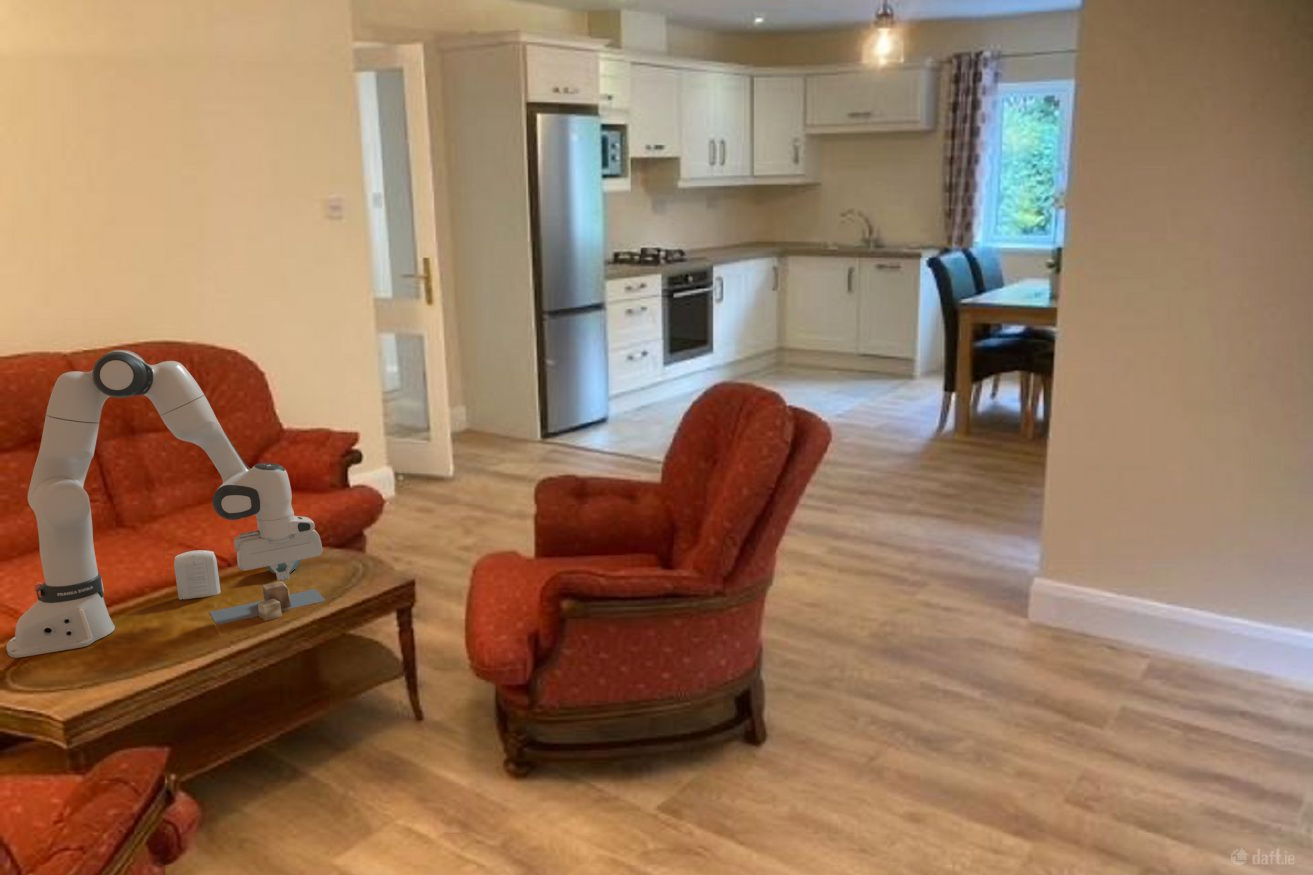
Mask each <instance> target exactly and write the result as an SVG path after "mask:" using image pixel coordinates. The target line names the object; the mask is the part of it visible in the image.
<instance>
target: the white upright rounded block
mask: <svg viewBox="0 0 1313 875" xmlns="http://www.w3.org/2000/svg"><path fill="white" fill-rule="evenodd" d="M173 566H174V574H175V581H176V588H177V590H176V591H177V595H178V596H177V597H178V600H181V601H182V599H183V600H189V599H198V598H205V597H211V596H212V597H213V596H217V595H219V594H221V586H220V585H221V584H220V577H219V569H218V562H217V557H216V555H215V552H214V551H212V550H201V549H200V550H199V549H198V550H191V551H186V552H181V553H180V554H177V555H176V556H175V557H174V562H173Z"/></svg>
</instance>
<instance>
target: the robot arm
mask: <svg viewBox="0 0 1313 875" xmlns="http://www.w3.org/2000/svg"><path fill="white" fill-rule="evenodd" d="M143 395H144V396H145V397H147V398H148V399H149V401H150V402H152V404H153V405H154V408H155V409H156V411H157V412H158V415H159V416H160V418H161V420H162V422H163V423H164V425H165V426H166V427H167V429H168V430H169V431H170V432H171V434H172V435H173V436H174V437H175V438H176V439H178V440H180V441H184V442H187V443H192V444H195V445H196V446H198V447H199V448H201V449H202V450H203V451H204V452H205V453H206V454H207V457H209V459H210V460H211V462H212V463H213V465H214V466H215V468H216V469H217V472H218V473H219V474H220V476H221V480H222V484H221V485H220V486H219V487H217V489H216V490H215V492H214V493H213V495H212V496H213V497H212V499H211V500H212V501H211V502H212V507H213V509H214V511H215V513H216V514H217V515H218V516H220V517H221V518H222V519H224V520H229V521H236V520H241V519H244V518H248V517H251V516H255V517H256V523H257V530H253V531H249V532H242V533H239V535H237V536H236V537H235V538H234V539H233V540H234V541H233V546H234V550H235V551H236V560H237V561H236V562H237V566H238V568H239V569H240V570H241V571H243V572H245V571H251V570H255V569H260V568H264V567H265V568H267V566H271V568H272V570H273V571H274V572H275V573H276V574H275V575H276V581H277V582H279V581H285V580H290V579H291V573H289V572H290V571H291V569H292V567H293V561H296V560H300V561H301V560H305V559H310V558H316V557H320V556H321V555H322V553H323V546H322V540H321V537H320V535H319V533H318V532H317V530H316V529H315V528H316V525H315V522H314V521H313V520H312V519H311V518H310V517H307V516H301V515H295V512H294V508H293V507H292V498H293V496H292V487H291V482H290V478H289V475H288V471H287V470H286V468H285V467H284V466H283V465H280V464H278V463H274V462H273V463H271V462H263V463H261V462H260V463H256V464H254V466H252V468H250V467H249V466H248V465H247V463H245V461H244V460H243V458H242V457H241V455H240V454H239V452H238V450H237V449H236V447H235V445H234V444H233V443H232V441H231V440H230V439H229V436H228V435H227V433H226V432H225V431H224V429H223V427H222V425H221V424H220V422H219V420H218V418H217V417H216V414H215V412H214V410H213V409H212V407H211V405H210V402H209V400H208V399H207V397H206V395H205V393H204V391H203V390H202V389H201V387H200V385H199V384H198V382H197V381H196V380H195V378H194V377H193V375H191V373H190V372H189V370H187V368H186V367H185V366H184V365H183V364H182V363H181V362H178V361H177V360H176V361H175V360H167V361H166V360H165V361H161V362H159V363H157V364H148V363H147V362H146V360H145V359H144V358H143V357H142V356H141V355H140V354H138V353H136V352H134V351H131V350H127V349H114V350H110V351H109V352H106V353H104V354H103V355H102V356H100V357H99V358H98V359H97V360H96V362H95V363H94V365H93V367H92V370H90V371H79V370H77V371H75V370H74V371H68V372H64V373H62V374H61V375H59V377H58V378H57V380H56V381H55V383H54V386H53V388H52V391H51V394H50V397H49V400H48V404H47V408H46V413H45V417H44V418H45V420H44V425H43V429H42V430H43V431H42V435H41V441H40V447H39V450H38V454H37V457H36V461H35V463H34V467H33V470H32V471H33V472H32V475H31V477H30V478H31V479H30V483H29V487H28V491H27V502H28V505H29V506H30V508H31V509H32V511H33V512H34V515H35V519H36V524H37V532H38V543H39V556H40V560H41V562H40V563H41V566H42V572H43V577H44V578H43V579H44V583H42V582H39V581H38V582H36V583H34V585H33V586H34V587H33V588H34V592H36V598H37V601H36V602H35V603H34V604H33V605H32V606H31V607H29V609H28V610H26V612H24V613H22V615H21V616H20V617H19V618H18V619H17V623H16V625H15V633H14V635H15V636H14V637H12V638H11V639H9V641H7V643H6V653H7V655H8V656H9V657H11V658H15V659H18V658H24V657H31V656H37V655H42V654H49V653H54V652H61V651H67V650H74V649H79V648H84V647H87V646H90V645H91V644H93V643H94V642H95V641H98V640H100V639H102V638H104V637H107V636H109V635H110V634H111V633H113V632H114V630H116V626H115V624H114V623H113V620H112V618H111V617H110V614H109V611H108V608H107V605H106V602H105V598H104V597H105V596H104V595H105V594H104V593H105V590H104V584H103V579H102V577H101V573H100V572H99V571H98V570H99V569H98V566H97V565H98V564H97V558H96V553H95V546H94V537H93V536H94V534H93V532H94V531H93V520H92V519H93V518H92V508H91V501H90V497H89V494H88V492H87V491H86V490H85V488H84V486H85V481H86V478H87V474H88V471H89V467H90V466H91V461H92V460H93V458H94V455H95V450H96V446H97V445H96V444H97V440H98V434H99V428H100V422H101V415H102V410H103V407H104V405H105V402H106V401H107V400H108V399H109V398H117V399H118V398H119V399H123V398H131V397H135V396H136V397H137V396H143ZM281 563H286V565H287V568H286V570H285V571H283V572H278V571H277V570H276V568H278V564H281Z"/></svg>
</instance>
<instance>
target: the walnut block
mask: <svg viewBox="0 0 1313 875" xmlns="http://www.w3.org/2000/svg"><path fill="white" fill-rule="evenodd" d="M262 591H263V598H264V599H263V600H265V601H267V600H270V599H275V600H277V601H279V602H280V605H281V609H282V608H286V607H291V601H290V594H291V593H290V589H289V587H288V586H287V585H286V584H285V583H284V582H283V580H281V581H275V582H272V583H266V584H262Z"/></svg>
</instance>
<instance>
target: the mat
mask: <svg viewBox="0 0 1313 875" xmlns="http://www.w3.org/2000/svg"><path fill="white" fill-rule="evenodd" d="M263 601H265V600H264V599H262V600H259V601H258V600H257V601H254V602H248V603H243V604H240V605H235V606H231V607H225V608H221V609H217V610H212V611H209V615H210V616H211V618H212V620H213V621H214V624H215V626H219V625H224V624H228V623H233V622H238V621H242V620H248V619H252V618H255V617H260V616H259V609H258V603H259V602H263ZM290 601H291V607H286V608H282V609H281V612H282V611H286V610H291V609H295V608H299V607H305V606H308V605H313V604H314V605H315V604H317V603H318V604H319V603H321V602H326V601H327V600H326V599H325V598H324V597H323V595H321V593H319V591H318V590H317V589H316V588H313V589H308V590H303V591H298V592H295V593H290Z"/></svg>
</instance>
